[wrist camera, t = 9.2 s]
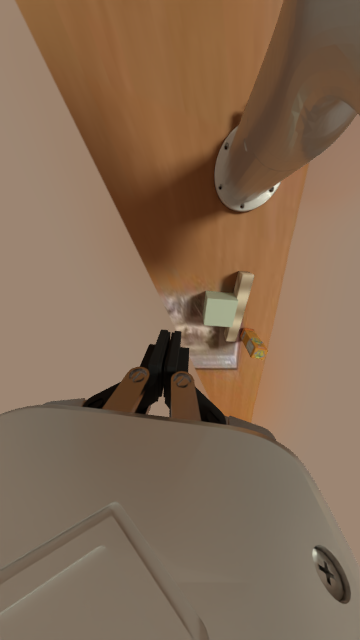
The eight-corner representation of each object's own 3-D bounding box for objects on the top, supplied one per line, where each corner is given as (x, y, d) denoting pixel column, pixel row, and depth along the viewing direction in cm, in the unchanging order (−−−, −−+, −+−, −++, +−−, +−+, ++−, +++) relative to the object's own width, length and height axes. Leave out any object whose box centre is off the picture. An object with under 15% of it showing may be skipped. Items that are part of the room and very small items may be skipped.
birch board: (238, 271, 37) (243, 274, 33) (248, 271, 37) (254, 275, 33) (223, 333, 45) (226, 341, 42) (232, 334, 45) (235, 342, 42)
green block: (205, 290, 40) (207, 298, 35) (232, 292, 40) (238, 300, 34) (202, 314, 43) (203, 324, 38) (227, 316, 43) (232, 327, 37)
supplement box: (254, 328, 44) (270, 350, 35) (249, 338, 45) (263, 361, 36) (243, 326, 44) (255, 348, 35) (239, 336, 45) (250, 359, 36)
